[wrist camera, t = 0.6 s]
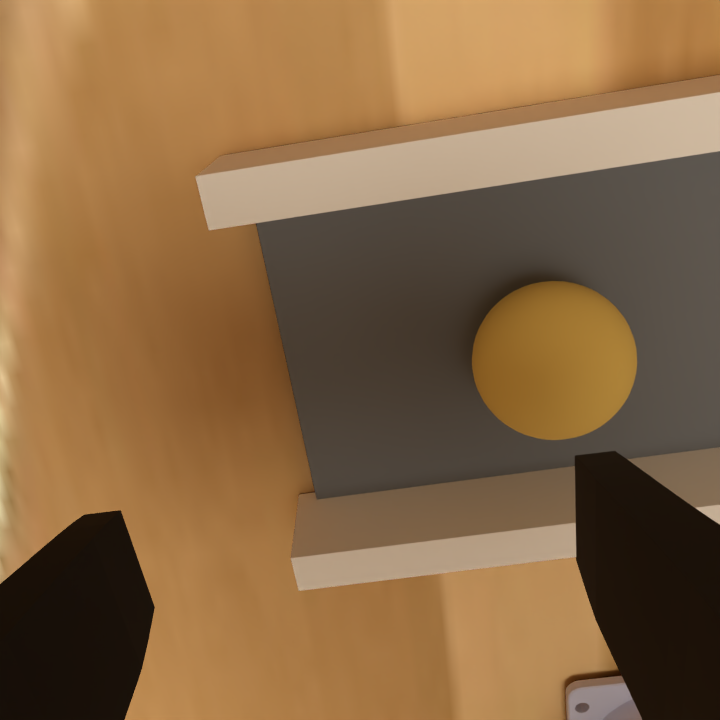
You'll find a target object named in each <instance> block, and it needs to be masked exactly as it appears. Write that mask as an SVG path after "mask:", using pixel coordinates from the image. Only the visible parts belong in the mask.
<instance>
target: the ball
mask: <svg viewBox="0 0 720 720" xmlns="http://www.w3.org/2000/svg"><path fill="white" fill-rule="evenodd" d="M472 369H473V375H474V380H475V383H476V387H477V389H478V391H479V393H480V395H481V397H482V399H483V401H484V403H485V404H486V405H487V407H488V408H489V410H490V411H491V412H492V413H493V414H494V415H495V416H496V417H497V418H498V419H499V420H500V421H502V422H503V423H504V424H505V425H507V426H509V427H510V428H512V429H514V430H515V431H517V432H520V433H522V434H524V435H527V436H531V437H534V438H538V439H545V440H563V439H570V438H575V437H578V436H582V435H585V434H587V433H589V432H592V431H594V430H595V429H597V428H599V427H601V426H602V425H603V424H605V423H606V422H607V421H609V420H610V419H611V418H612V417H613V416H614V415H615V414H616V413H617V412H618V411H619V410H620V408H621V407H622V406H623V404H624V403H625V401H626V400H627V398H628V396H629V394H630V392H631V389H632V387H633V384H634V380H635V376H636V371H637V351H636V345H635V340H634V337H633V335H632V332H631V329H630V327H629V325H628V323H627V322H626V320H625V318H624V317H623V315H622V314H621V313H620V312H619V310H618V309H617V308H616V307H615V306H614V305H613V304H612V303H611V302H610V301H609V300H608V299H606V298H605V297H604V296H602V295H601V294H599V293H598V292H596V291H594V290H592V289H590V288H587V287H585V286H582V285H579V284H575V283H571V282H565V281H546V282H538V283H534V284H530V285H527V286H524V287H521V288H519V289H517V290H515V291H513V292H512V293H510V294H508V295H507V296H505V297H504V298H503V299H501V300H500V301H499V302H498V303H497V304H496V305H495V306H494V307H493V308H492V309H491V310H490V311H489V313H488V314H487V315H486V317H485V318H484V320H483V322H482V324H481V325H480V327H479V329H478V332H477V334H476V337H475V341H474V345H473V353H472Z"/></svg>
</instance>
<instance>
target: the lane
mask: <svg viewBox="0 0 720 720" xmlns="http://www.w3.org/2000/svg"><path fill="white" fill-rule="evenodd" d="M195 177H196V181H197V185H198V189H199V193H200V197H201V201H202V205H203V209H204V213H205V217H206V221H207V225H208V229H209V230H215V229H222V228H228V227H235V226H241V225H248V224H254V223H256V225H257V230H258V234H259V239H260V243H261V248H262V253H263V257H264V262H265V266H266V271H267V275H268V280H269V284H270V289H271V293H272V298H273V303H274V307H275V312H276V316H277V321H278V325H279V330H280V334H281V339H282V344H283V348H284V353H285V357H286V362H287V366H288V371H289V375H290V380H291V385H292V389H293V394H294V398H295V403H296V407H297V412H298V416H299V421H300V426H301V430H302V435H303V439H304V444H305V448H306V453H307V457H308V462H309V467H310V471H311V476H312V480H313V485H314V489H315V492H314V493H306V494H299V498H298V505H297V513H296V521H295V529H294V536H293V544H292V552H291V562H292V566H293V570H294V574H295V578H296V582H297V586H298V590H299V591H302V590H310V589H318V588H326V587H334V586H343V585H351V584H359V583H367V582H375V581H384V580H392V579H400V578H408V577H416V576H425V575H433V574H441V573H449V572H457V571H466V570H474V569H482V568H490V567H498V566H507V565H515V564H523V563H531V562H539V561H548V560H556V559H564V558H572V557H576V510H575V455H583V454H592V453H600V452H608V451H616V452H617V453H619V454H620V455H622V456H623V457H625V458H626V459H628V460H629V461H630V462H632V463H633V464H634V465H636V466H637V467H639V468H640V469H641V470H643V471H644V472H645V473H647V474H648V475H650V476H651V477H652V478H654V479H655V480H656V481H658V482H659V483H661V484H662V485H663V486H665V487H666V488H668V489H669V490H670V491H672V492H673V493H675V494H676V495H677V496H679V497H680V498H682V499H683V500H684V501H686V502H687V503H689V504H690V505H692V506H693V507H694V508H696V509H697V510H699V511H700V512H702V513H703V514H705V515H706V516H708V517H709V518H711V519H712V520H714V521H715V522H717V523H718V524H720V75H715V76H709V77H703V78H697V79H691V80H685V81H678V82H672V83H666V84H660V85H654V86H648V87H641V88H635V89H629V90H623V91H617V92H610V93H604V94H598V95H592V96H586V97H580V98H573V99H567V100H561V101H555V102H549V103H543V104H536V105H530V106H524V107H518V108H512V109H506V110H499V111H493V112H487V113H481V114H475V115H469V116H462V117H456V118H450V119H444V120H438V121H432V122H425V123H419V124H413V125H407V126H401V127H395V128H388V129H382V130H376V131H370V132H364V133H358V134H351V135H345V136H339V137H333V138H327V139H320V140H314V141H308V142H302V143H296V144H290V145H283V146H277V147H271V148H265V149H259V150H253V151H246V152H240V153H234V154H228V155H222V156H219V157H218V158H217V159H216V160H215V161H213V162H212V163H211V164H210V165H209V166H207V167H206V168H205V169H204V170H202V171H201V172H200V173H199V174H198V175H196V176H195ZM546 281H565V282H571V283H575V284H579V285H582V286H585V287H587V288H590V289H592V290H594V291H596V292H598V293H599V294H601V295H602V296H604V297H605V298H606V299H608V300H609V301H610V302H611V303H612V304H613V305H614V306H615V307H616V308H617V309H618V310H619V312H620V313H621V314H622V315H623V317H624V318H625V320H626V322H627V323H628V325H629V327H630V329H631V332H632V335H633V337H634V340H635V345H636V351H637V371H636V376H635V380H634V384H633V387H632V389H631V392H630V394H629V396H628V398H627V400H626V401H625V403H624V404H623V406H622V407H621V408H620V410H619V411H618V412H617V413H616V414H615V415H614V416H613V417H612V418H611V419H610V420H609V421H607V422H606V423H605V424H603V425H602V426H601V427H599V428H597V429H595V430H594V431H592V432H589V433H587V434H585V435H582V436H578V437H575V438H570V439H563V440H545V439H538V438H534V437H531V436H527V435H524V434H522V433H520V432H517V431H515V430H514V429H512V428H510V427H509V426H507V425H505V424H504V423H503V422H502V421H500V420H499V419H498V418H497V417H496V416H495V415H494V414H493V413H492V412H491V411H490V410H489V408H488V407H487V405H486V404H485V403H484V401H483V399H482V397H481V395H480V393H479V391H478V389H477V387H476V383H475V380H474V375H473V369H472V353H473V345H474V341H475V337H476V334H477V332H478V329H479V327H480V325H481V324H482V322H483V320H484V318H485V317H486V315H487V314H488V313H489V311H490V310H491V309H492V308H493V307H494V306H495V305H496V304H497V303H498V302H499V301H500V300H501V299H503V298H504V297H505V296H507V295H508V294H510V293H512V292H513V291H515V290H517V289H519V288H521V287H524V286H527V285H530V284H534V283H538V282H546Z"/></svg>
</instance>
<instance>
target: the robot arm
mask: <svg viewBox="0 0 720 720" xmlns="http://www.w3.org/2000/svg"><path fill="white" fill-rule="evenodd" d="M575 510H576V561H577V564H578V567H579V570H580V573H581V576H582V580H583V583H584V586H585V589H586V592H587V595H588V598H589V601H590V604H591V607H592V610H593V613H594V616H595V619H596V621H597V623H598V626H599V628H600V630H601V632H602V634H603V637H604V639H605V641H606V643H607V645H608V647H609V650H610V652H611V654H612V656H613V658H614V660H615V663H616V665H617V667H618V669H619V671H620V673H621V675H622V676H614V677H605V678H596V679H587V680H578V681H574V682H572V683H571V684H569V685H568V687H567V688H566V715H567V720H720V524H718V523H717V522H715V521H714V520H712V519H711V518H709V517H708V516H706V515H705V514H703V513H702V512H700V511H699V510H697V509H696V508H694V507H693V506H692V505H690V504H689V503H687V502H686V501H684V500H683V499H682V498H680V497H679V496H677V495H676V494H675V493H673V492H672V491H670V490H669V489H668V488H666V487H665V486H663V485H662V484H661V483H659V482H658V481H656V480H655V479H654V478H652V477H651V476H650V475H648V474H647V473H645V472H644V471H643V470H641V469H640V468H639V467H637V466H636V465H634V464H633V463H632V462H630V461H629V460H628V459H626V458H625V457H623V456H622V455H620V454H619V453H617V452H616V451H608V452H600V453H592V454H583V455H575ZM154 608H155V607H154V604H153V601H152V598H151V596H150V593H149V590H148V587H147V584H146V581H145V578H144V576H143V573H142V570H141V567H140V564H139V561H138V559H137V556H136V553H135V550H134V547H133V544H132V542H131V539H130V536H129V533H128V530H127V527H126V524H125V522H124V519H123V516H122V513H121V510H120V511H112V512H103V513H95V514H87V515H83V516H82V517H80V518H79V519H78V520H76V521H75V522H73V523H72V524H71V525H70V526H68V527H67V528H66V529H65V530H63V531H62V532H61V533H60V534H58V535H57V536H56V537H55V538H54V539H53V540H51V541H50V542H49V543H48V544H47V545H45V546H44V547H43V548H42V549H41V550H40V551H38V552H37V553H36V554H35V555H34V556H33V557H31V558H30V559H29V560H28V561H27V562H26V563H24V564H23V565H22V566H21V567H20V568H19V569H17V570H16V571H15V572H14V573H13V574H12V575H10V576H9V577H8V578H7V579H6V580H5V581H3V582H2V583H1V584H0V720H124V719H125V716H126V713H127V711H128V708H129V705H130V702H131V699H132V696H133V693H134V690H135V687H136V685H137V682H138V679H139V675H140V672H141V669H142V666H143V661H144V657H145V652H146V648H147V644H148V639H149V634H150V629H151V623H152V618H153V613H154Z"/></svg>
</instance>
